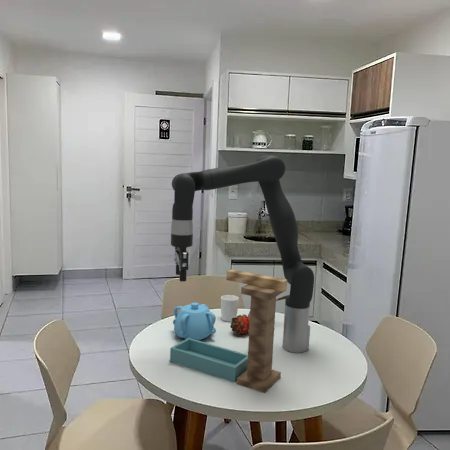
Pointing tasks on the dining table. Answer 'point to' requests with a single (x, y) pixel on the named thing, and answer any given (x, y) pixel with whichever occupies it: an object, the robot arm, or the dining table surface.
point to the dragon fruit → (240, 324)
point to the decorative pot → (194, 321)
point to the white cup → (229, 307)
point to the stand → (260, 339)
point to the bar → (257, 280)
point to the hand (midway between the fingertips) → (180, 277)
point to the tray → (209, 359)
